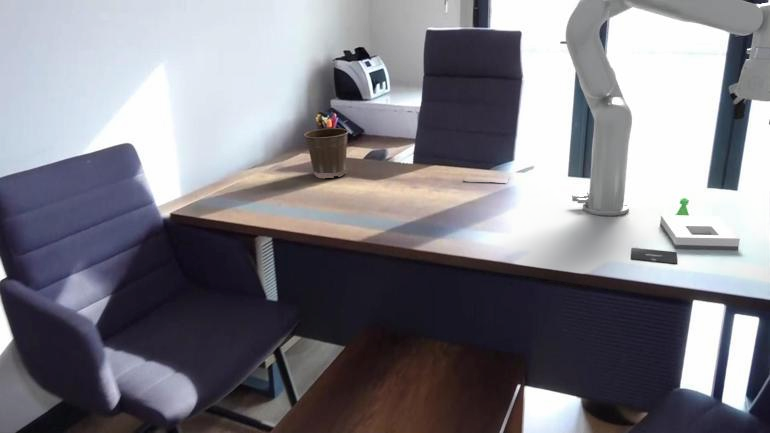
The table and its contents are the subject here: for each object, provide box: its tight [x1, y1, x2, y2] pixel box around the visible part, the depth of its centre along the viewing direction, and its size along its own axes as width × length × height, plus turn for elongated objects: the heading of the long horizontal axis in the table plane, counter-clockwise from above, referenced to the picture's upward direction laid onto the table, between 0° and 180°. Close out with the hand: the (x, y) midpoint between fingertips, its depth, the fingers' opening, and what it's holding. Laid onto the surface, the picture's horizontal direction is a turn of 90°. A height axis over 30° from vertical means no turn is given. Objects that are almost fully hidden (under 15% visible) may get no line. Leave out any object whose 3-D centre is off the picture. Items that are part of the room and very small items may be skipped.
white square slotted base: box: [659, 214, 741, 251], centre depth 154 cm, size 14×16×3 cm
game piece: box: [674, 197, 690, 216], centre depth 166 cm, size 4×4×6 cm
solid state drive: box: [630, 247, 678, 265], centre depth 145 cm, size 7×10×1 cm
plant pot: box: [303, 127, 349, 173], centre depth 224 cm, size 16×16×16 cm
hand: (755, 121), depth 159 cm, fingers open, 9 cm apart
